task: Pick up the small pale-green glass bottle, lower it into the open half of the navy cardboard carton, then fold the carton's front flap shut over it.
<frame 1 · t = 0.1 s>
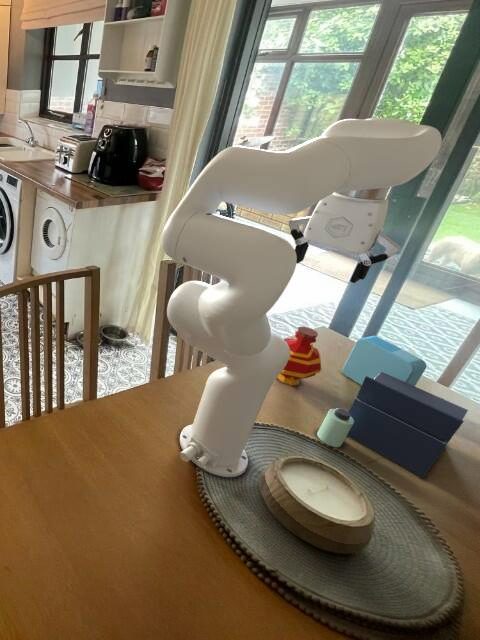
hand: (324, 271, 83), 37 cm above the table, tool pointing down, fingers open, 9 cm apart
potion bottle: (286, 378, 107), on the table
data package: (371, 387, 105), on the table
flap: (405, 408, 80), point 13 cm above the table, hinge at 110.0°
carton: (389, 437, 90), on the table
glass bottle: (329, 439, 90), on the table
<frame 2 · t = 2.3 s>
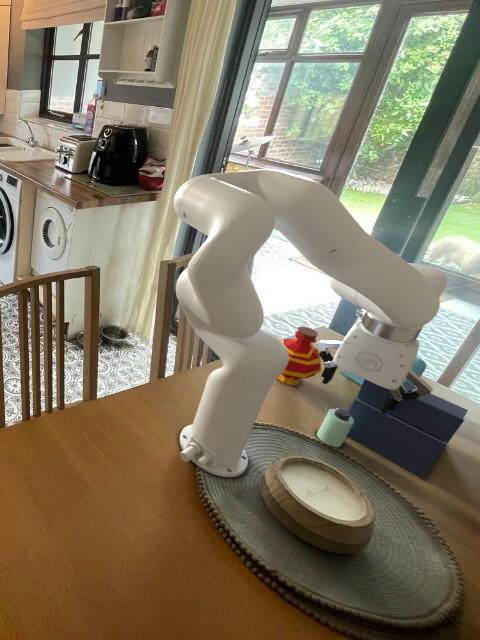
hand: (354, 395, 84), 13 cm above the table, tool pointing down, fingers open, 9 cm apart
flap: (405, 407, 80), point 14 cm above the table, hinge at 107.3°
everything else where it was.
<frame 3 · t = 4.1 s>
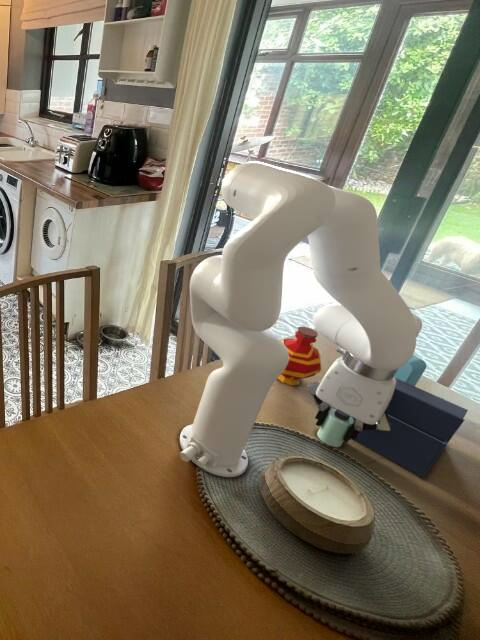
hand: (333, 430, 89), 3 cm above the table, tool pointing down, fingers closed on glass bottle, 4 cm apart
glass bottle: (329, 439, 90), on the table, touching gripper
everything else where it was.
when the fingers open (4 cm above the table, at t = 11.8 s): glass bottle stays where it is, resting on carton.
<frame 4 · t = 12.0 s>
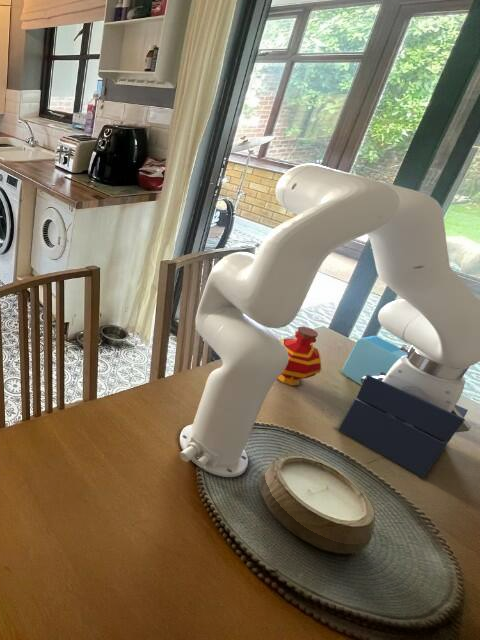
hand: (394, 428, 87), 4 cm above the table, tool pointing down, fingers open, 7 cm apart
flap: (405, 407, 80), point 14 cm above the table, hinge at 105.8°
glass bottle: (386, 441, 89), resting on carton
everything else where it was.
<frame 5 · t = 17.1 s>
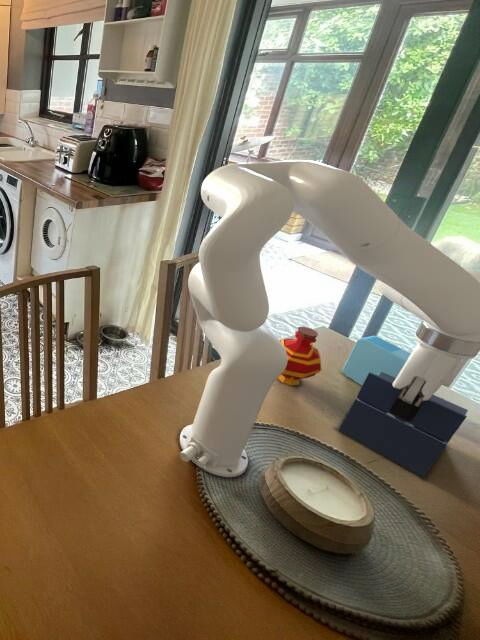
hand: (400, 415, 79), 13 cm above the table, tool pointing down, fingers closed
flap: (407, 405, 81), point 14 cm above the table, hinge at 98.0°, touching gripper
everything else where it was.
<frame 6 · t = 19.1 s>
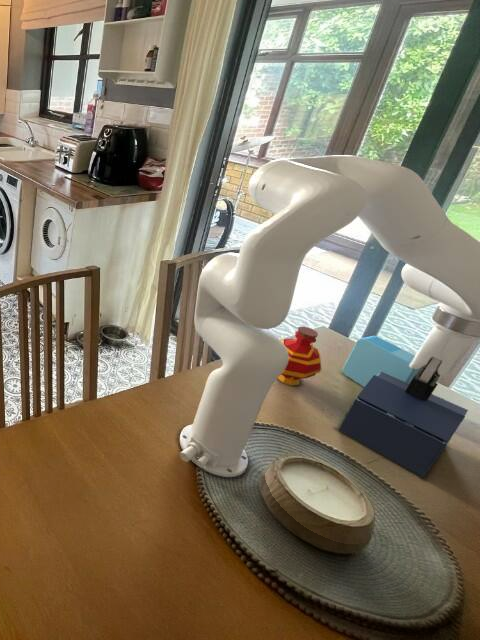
hand: (416, 395, 84), 13 cm above the table, tool pointing down, fingers closed
flap: (408, 406, 83), point 11 cm above the table, hinge at 22.5°
everything else where it was.
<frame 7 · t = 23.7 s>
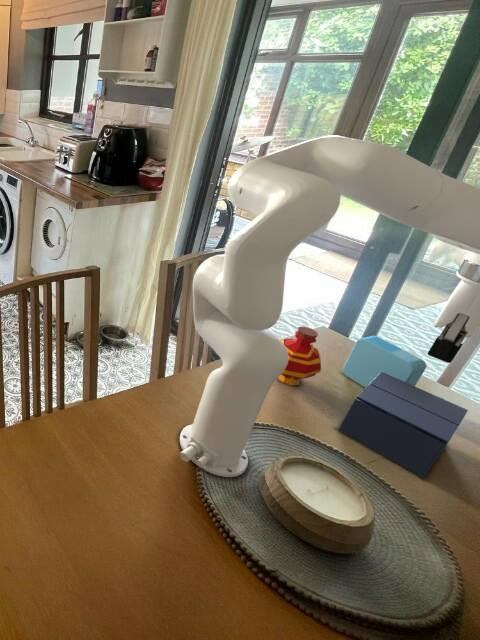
hand: (439, 357, 79), 23 cm above the table, tool pointing down, fingers closed
flap: (405, 410, 84), point 10 cm above the table, hinge at -0.5°
everything else where it was.
at the end: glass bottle inside the target area in the carton (2.5 cm from its centre), point 0.4 cm above the carton's base; flap at +0° (first picture: +110°) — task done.
